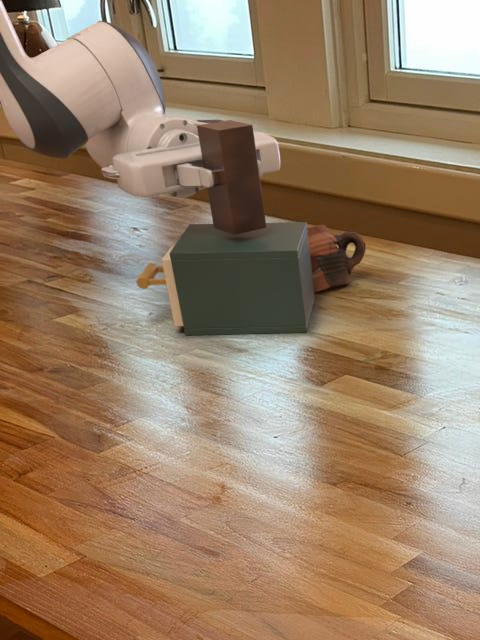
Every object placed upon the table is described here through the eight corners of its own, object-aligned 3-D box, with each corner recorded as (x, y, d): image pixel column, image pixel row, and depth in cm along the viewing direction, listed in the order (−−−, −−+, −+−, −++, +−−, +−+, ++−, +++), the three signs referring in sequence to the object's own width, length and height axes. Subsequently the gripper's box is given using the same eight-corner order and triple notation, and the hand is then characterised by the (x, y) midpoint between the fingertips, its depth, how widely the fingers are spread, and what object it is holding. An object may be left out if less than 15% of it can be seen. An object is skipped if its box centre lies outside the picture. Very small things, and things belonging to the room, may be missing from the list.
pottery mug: (295, 301, 127) (269, 239, 125) (295, 311, 137) (271, 254, 135) (379, 268, 129) (354, 206, 127) (373, 280, 138) (350, 223, 136)
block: (235, 235, 113) (218, 130, 106) (213, 228, 115) (196, 125, 108) (266, 227, 115) (252, 124, 108) (245, 220, 118) (230, 119, 111)
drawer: (139, 327, 116) (124, 260, 111) (158, 296, 125) (146, 233, 120) (287, 324, 117) (278, 257, 112) (296, 293, 126) (288, 231, 121)
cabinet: (185, 335, 116) (169, 252, 110) (203, 301, 126) (189, 224, 120) (306, 332, 117) (297, 250, 111) (315, 298, 127) (306, 221, 121)
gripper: (87, 140, 111) (150, 158, 103) (237, 117, 122) (303, 131, 115) (101, 199, 115) (162, 220, 107) (245, 171, 126) (309, 188, 118)
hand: (236, 174), depth 111 cm, fingers closed on block, 4 cm apart
